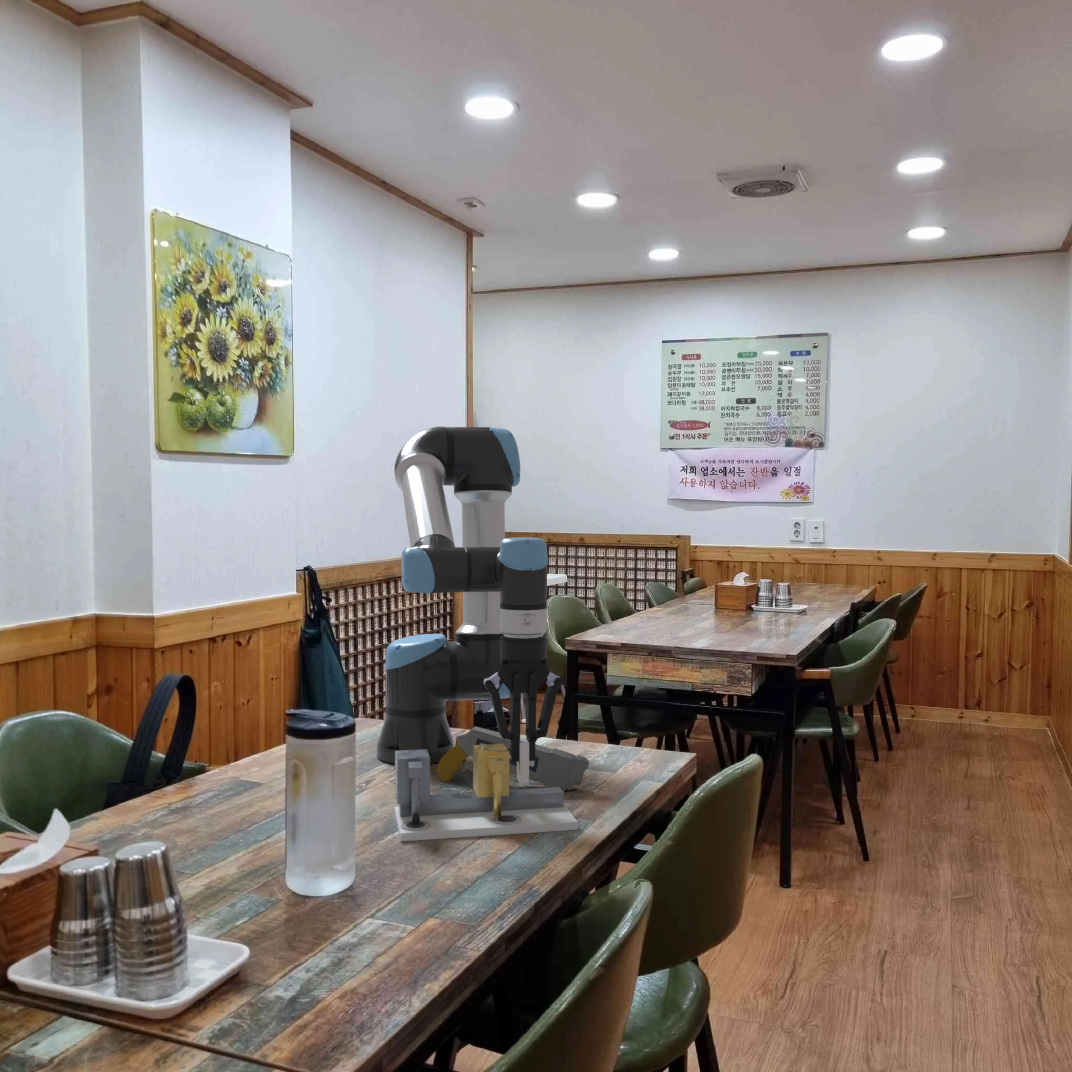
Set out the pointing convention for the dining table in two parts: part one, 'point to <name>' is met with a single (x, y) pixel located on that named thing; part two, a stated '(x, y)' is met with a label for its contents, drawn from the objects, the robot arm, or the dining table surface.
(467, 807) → the grey sliding rail fixture
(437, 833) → the bolt plate
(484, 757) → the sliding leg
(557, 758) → the gun
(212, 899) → the dining table surface
